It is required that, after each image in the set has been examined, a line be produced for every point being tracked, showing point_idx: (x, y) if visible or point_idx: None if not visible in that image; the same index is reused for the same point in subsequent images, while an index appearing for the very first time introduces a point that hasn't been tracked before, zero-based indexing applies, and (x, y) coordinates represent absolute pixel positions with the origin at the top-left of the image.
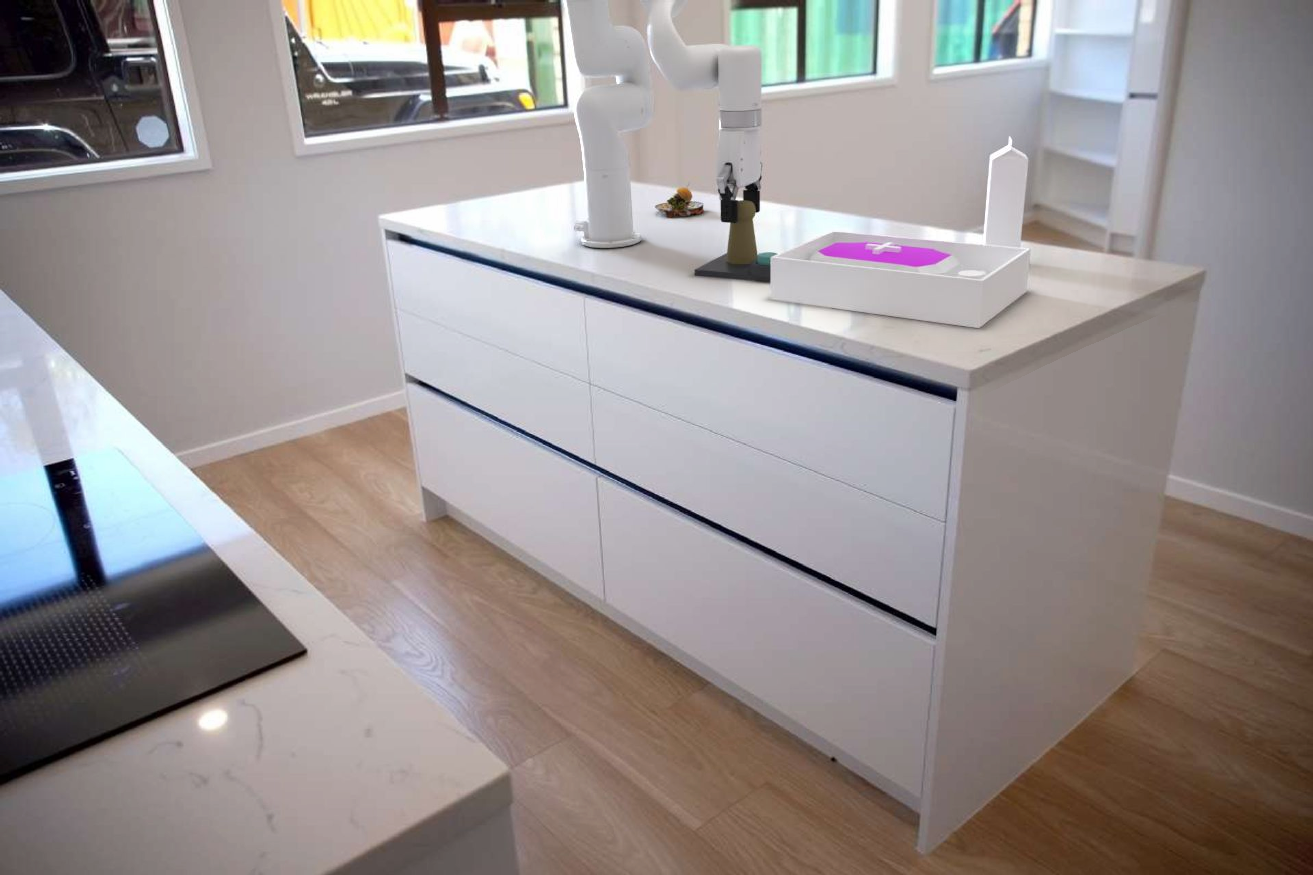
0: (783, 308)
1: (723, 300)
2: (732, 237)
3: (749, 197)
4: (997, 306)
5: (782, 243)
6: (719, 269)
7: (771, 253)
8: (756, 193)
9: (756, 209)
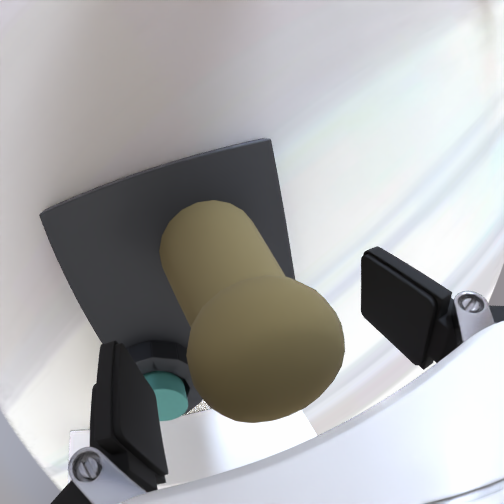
0: (65, 452)
1: (6, 387)
2: (177, 289)
3: (405, 317)
4: None
5: (431, 170)
6: (87, 274)
7: (175, 405)
8: (415, 357)
9: (367, 316)
